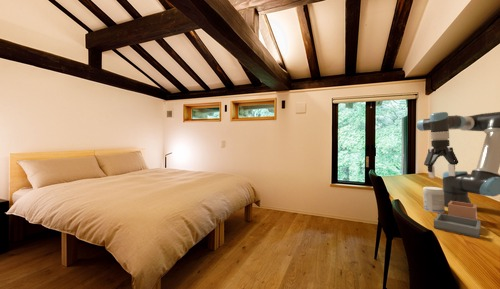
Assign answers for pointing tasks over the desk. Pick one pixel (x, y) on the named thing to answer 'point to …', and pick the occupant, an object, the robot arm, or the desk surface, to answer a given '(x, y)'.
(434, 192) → the supplement tub
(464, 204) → the terracotta bin
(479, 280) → the desk surface
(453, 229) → the gray tray
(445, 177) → the robot arm
